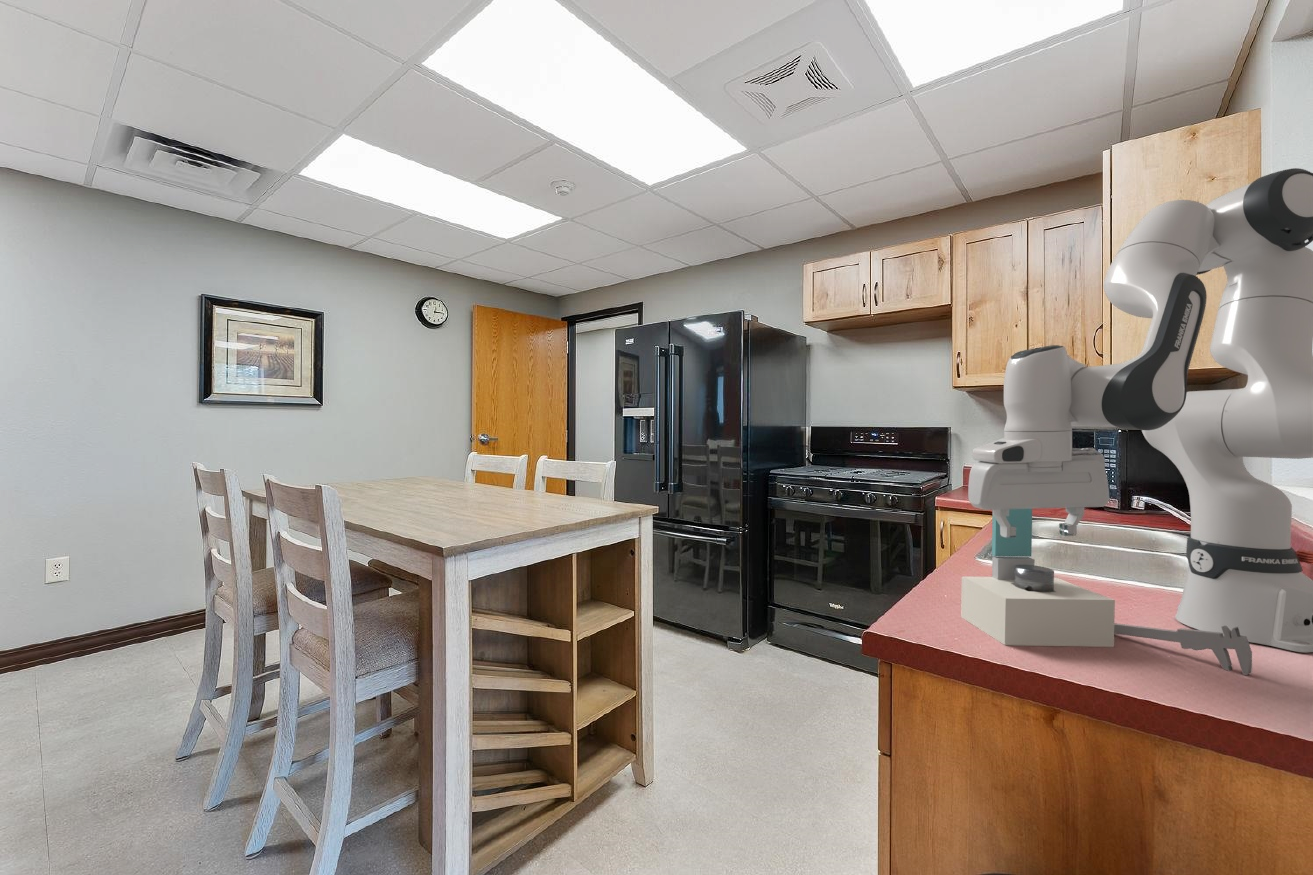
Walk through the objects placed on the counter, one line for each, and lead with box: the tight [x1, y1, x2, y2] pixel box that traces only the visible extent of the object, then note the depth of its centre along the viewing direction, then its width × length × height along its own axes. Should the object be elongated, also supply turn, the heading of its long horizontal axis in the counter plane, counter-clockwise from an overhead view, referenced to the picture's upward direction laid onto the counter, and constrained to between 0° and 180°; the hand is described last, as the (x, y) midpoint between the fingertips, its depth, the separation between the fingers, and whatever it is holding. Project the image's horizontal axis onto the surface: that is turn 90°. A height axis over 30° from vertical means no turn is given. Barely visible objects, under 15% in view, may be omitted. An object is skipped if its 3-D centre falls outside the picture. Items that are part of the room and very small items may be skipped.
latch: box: [991, 509, 1033, 557], centre depth 92 cm, size 6×9×1 cm
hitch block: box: [960, 556, 1116, 648], centre depth 87 cm, size 16×12×10 cm
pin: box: [1014, 564, 1055, 592], centre depth 87 cm, size 5×5×10 cm
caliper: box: [1114, 622, 1253, 676], centre depth 81 cm, size 20×1×6 cm, turn 25°
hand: (1038, 536), depth 86 cm, fingers open, 8 cm apart
